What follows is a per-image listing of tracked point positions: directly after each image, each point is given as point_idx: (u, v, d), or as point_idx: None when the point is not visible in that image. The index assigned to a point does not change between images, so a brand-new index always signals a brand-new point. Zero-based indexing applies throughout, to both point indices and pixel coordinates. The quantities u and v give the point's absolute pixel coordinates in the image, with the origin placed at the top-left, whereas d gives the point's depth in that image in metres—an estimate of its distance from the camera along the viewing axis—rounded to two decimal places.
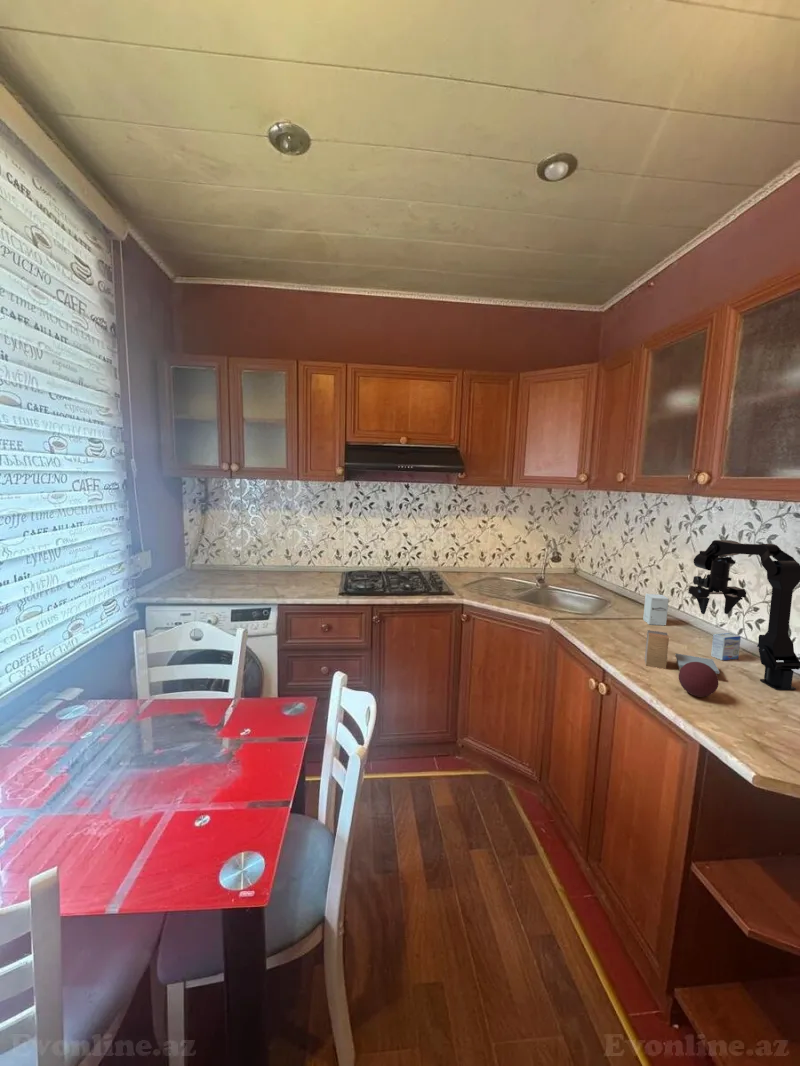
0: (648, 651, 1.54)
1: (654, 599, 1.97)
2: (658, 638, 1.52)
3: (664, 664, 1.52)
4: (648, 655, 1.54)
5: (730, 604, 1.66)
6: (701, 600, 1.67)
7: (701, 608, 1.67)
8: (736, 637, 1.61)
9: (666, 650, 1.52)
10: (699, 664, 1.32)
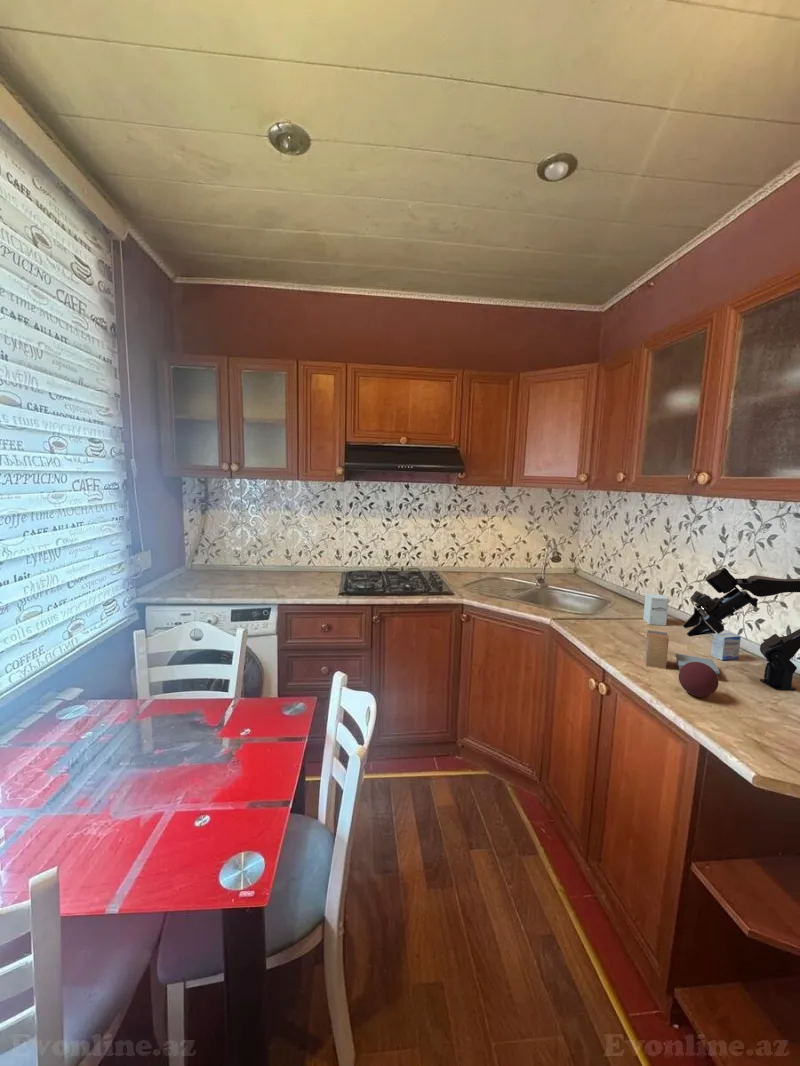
0: (648, 651, 1.54)
1: (654, 599, 1.97)
2: (658, 638, 1.52)
3: (664, 664, 1.52)
4: (648, 655, 1.54)
5: (697, 623, 1.54)
6: (703, 627, 1.44)
7: (694, 632, 1.46)
8: (736, 637, 1.61)
9: (666, 650, 1.52)
10: (699, 664, 1.32)
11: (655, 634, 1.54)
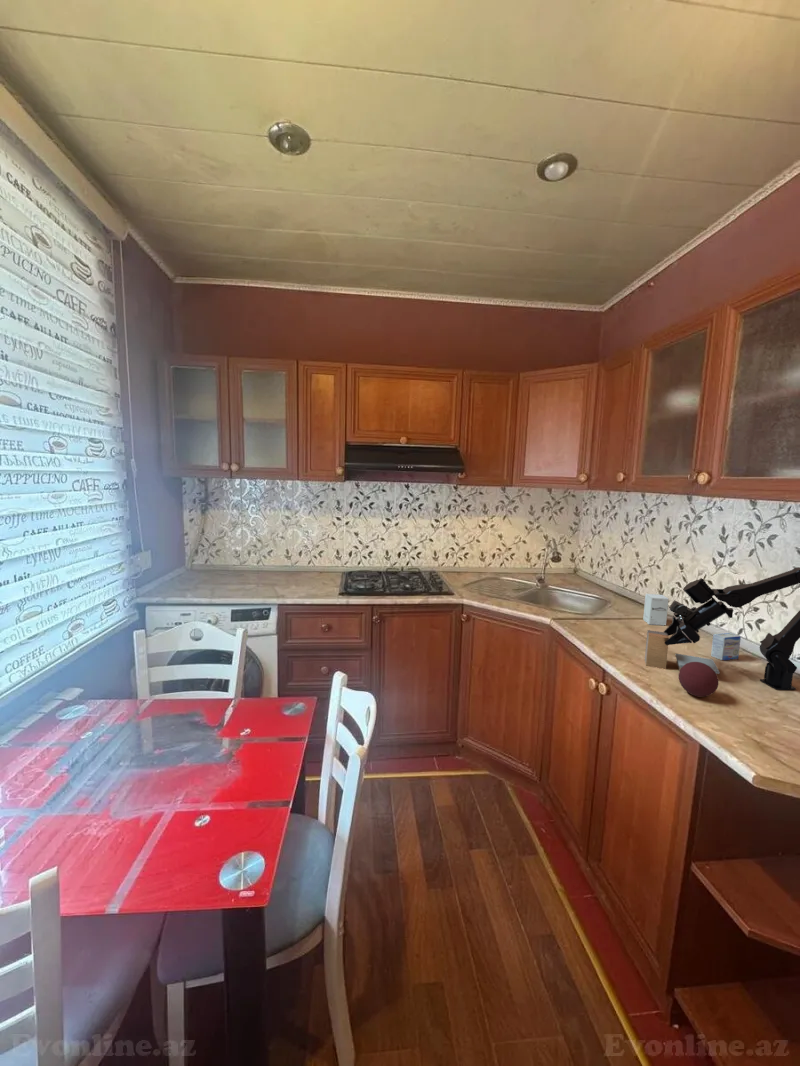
0: (648, 651, 1.54)
1: (654, 599, 1.97)
2: (658, 638, 1.52)
3: (664, 664, 1.52)
4: (648, 655, 1.54)
5: (675, 631, 1.57)
6: (679, 636, 1.47)
7: (671, 641, 1.49)
8: (736, 637, 1.61)
9: (666, 650, 1.52)
10: (699, 664, 1.32)
11: (655, 634, 1.54)
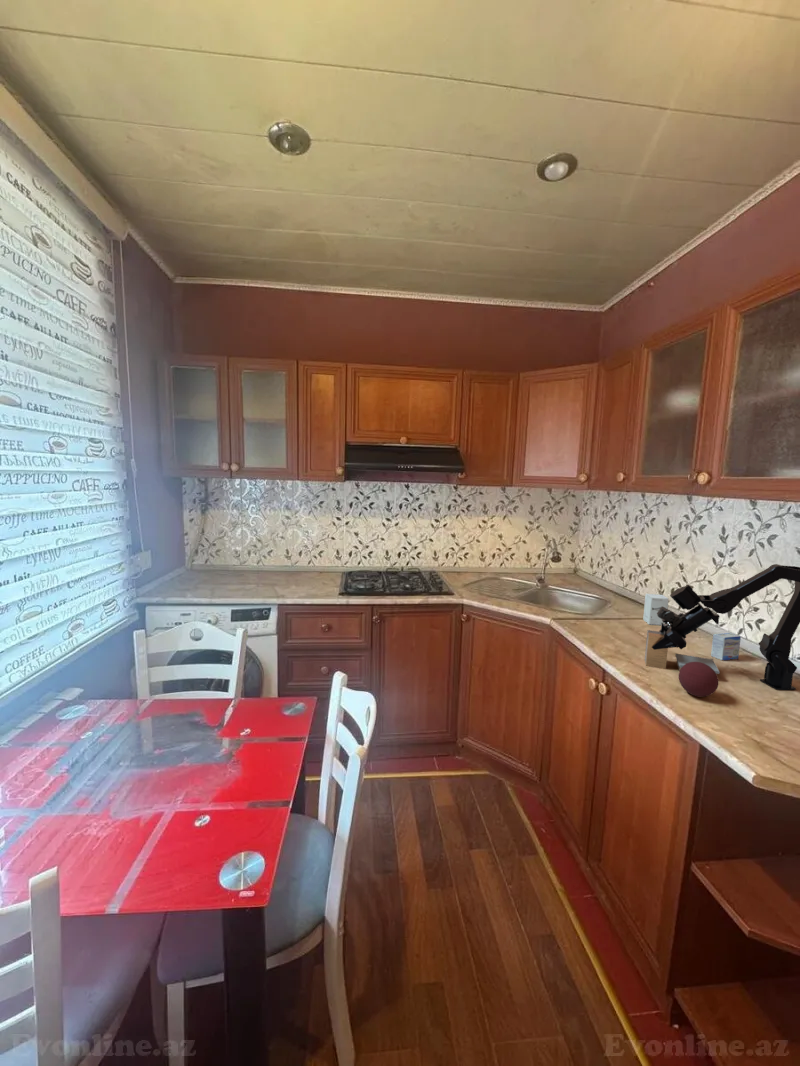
0: (648, 651, 1.54)
1: (654, 599, 1.97)
2: (658, 638, 1.52)
3: (664, 664, 1.52)
4: (648, 655, 1.54)
5: None
6: (666, 641, 1.50)
7: (658, 645, 1.52)
8: (736, 637, 1.61)
9: (666, 650, 1.52)
10: (699, 664, 1.32)
11: (655, 634, 1.54)
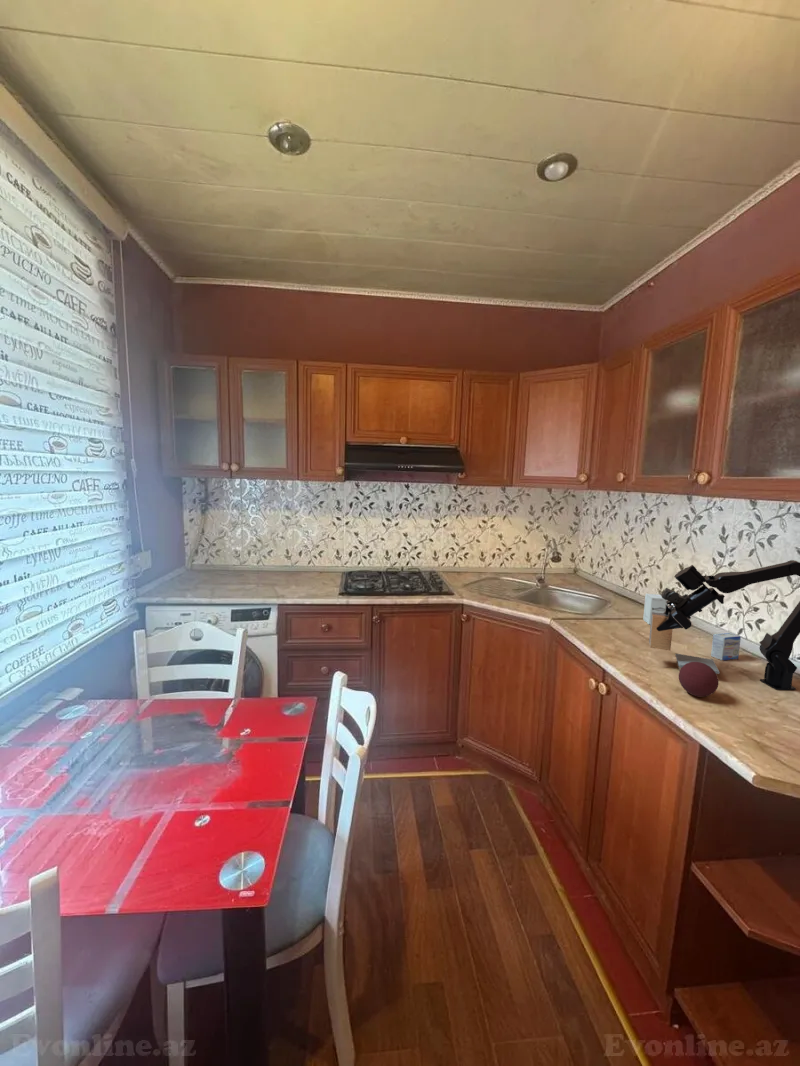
0: (652, 633, 1.53)
1: (654, 599, 1.97)
2: (662, 620, 1.51)
3: (669, 645, 1.51)
4: (652, 637, 1.53)
5: None
6: (671, 622, 1.49)
7: (663, 627, 1.50)
8: (736, 637, 1.61)
9: (671, 631, 1.50)
10: (699, 664, 1.32)
11: (659, 615, 1.53)
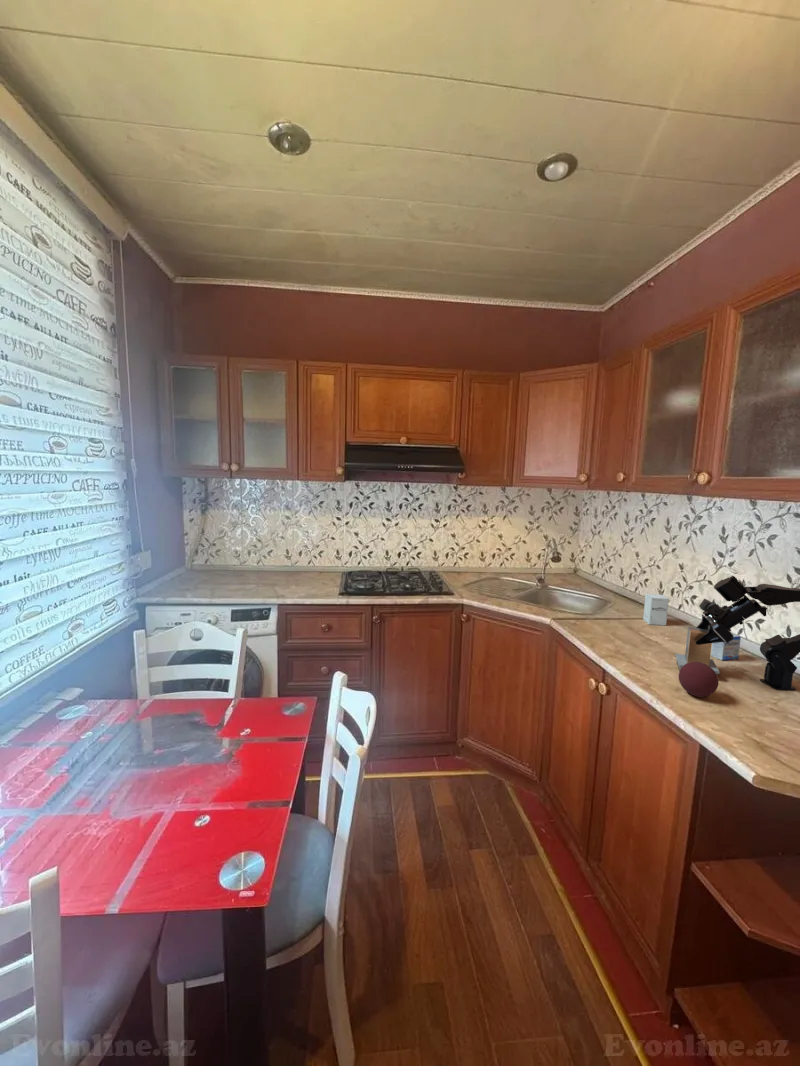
0: (690, 648, 1.49)
1: (654, 599, 1.97)
2: (700, 635, 1.47)
3: (707, 662, 1.47)
4: (690, 653, 1.49)
5: None
6: (711, 635, 1.43)
7: (702, 640, 1.45)
8: (736, 637, 1.61)
9: (710, 647, 1.46)
10: (699, 664, 1.32)
11: (697, 631, 1.49)
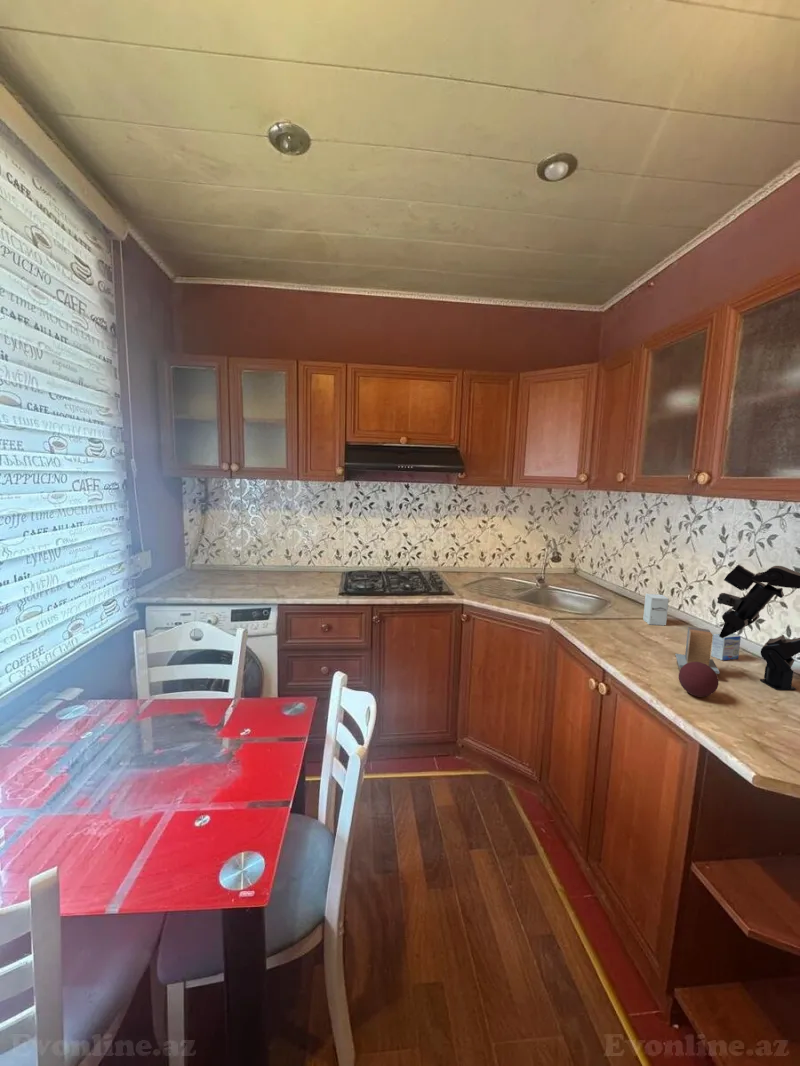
0: (690, 648, 1.49)
1: (654, 599, 1.97)
2: (700, 635, 1.47)
3: (707, 662, 1.47)
4: (690, 653, 1.49)
5: None
6: (729, 626, 1.45)
7: (724, 632, 1.47)
8: (736, 637, 1.61)
9: (710, 647, 1.46)
10: (699, 664, 1.32)
11: (697, 631, 1.49)
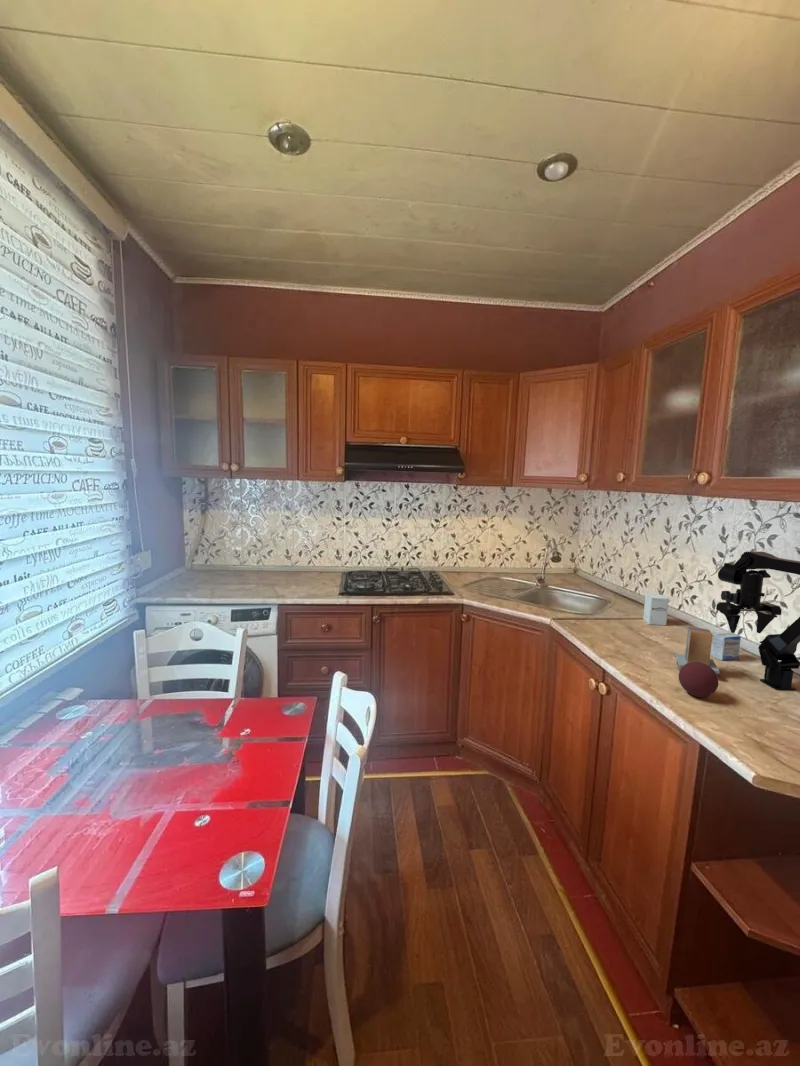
0: (690, 648, 1.49)
1: (654, 599, 1.97)
2: (700, 635, 1.47)
3: (707, 662, 1.47)
4: (690, 653, 1.49)
5: (763, 622, 1.50)
6: (730, 617, 1.51)
7: (730, 626, 1.51)
8: (736, 637, 1.61)
9: (710, 647, 1.46)
10: (699, 664, 1.32)
11: (697, 631, 1.49)
